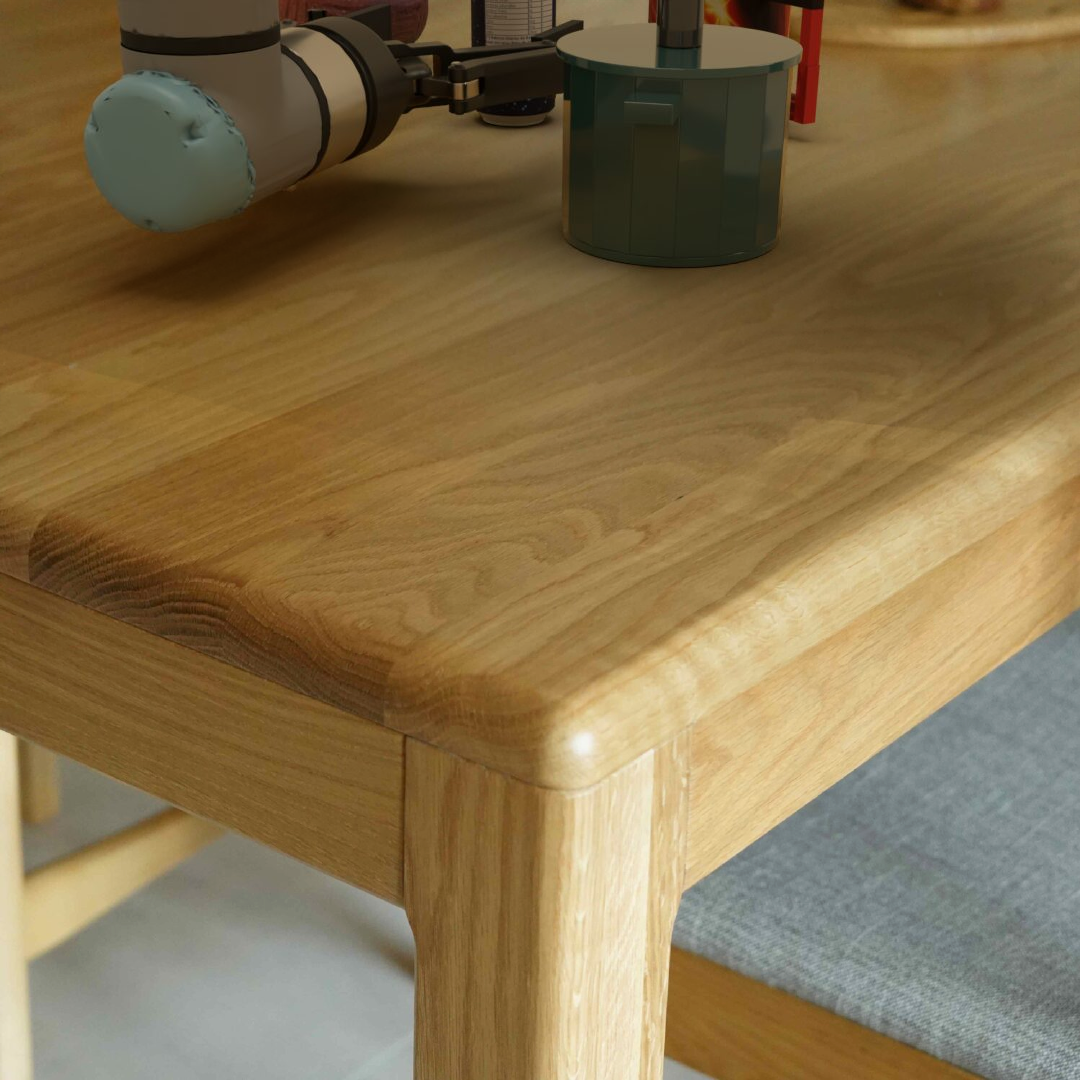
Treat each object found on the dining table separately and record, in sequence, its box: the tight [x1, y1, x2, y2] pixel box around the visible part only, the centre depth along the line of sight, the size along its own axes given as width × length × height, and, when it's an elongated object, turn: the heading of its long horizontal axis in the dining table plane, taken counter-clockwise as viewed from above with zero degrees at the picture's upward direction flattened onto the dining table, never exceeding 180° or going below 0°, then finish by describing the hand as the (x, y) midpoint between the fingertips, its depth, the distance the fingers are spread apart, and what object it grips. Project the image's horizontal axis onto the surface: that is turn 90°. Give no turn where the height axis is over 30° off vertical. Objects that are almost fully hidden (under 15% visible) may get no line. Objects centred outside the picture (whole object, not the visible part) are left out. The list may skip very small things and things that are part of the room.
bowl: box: [278, 0, 429, 44], centre depth 128 cm, size 16×13×8 cm
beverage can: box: [470, 0, 557, 127], centre depth 110 cm, size 6×6×12 cm
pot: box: [561, 61, 794, 268], centre depth 87 cm, size 12×17×10 cm
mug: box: [647, 0, 825, 125], centre depth 111 cm, size 10×14×12 cm
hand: (480, 33), depth 106 cm, fingers open, 13 cm apart
